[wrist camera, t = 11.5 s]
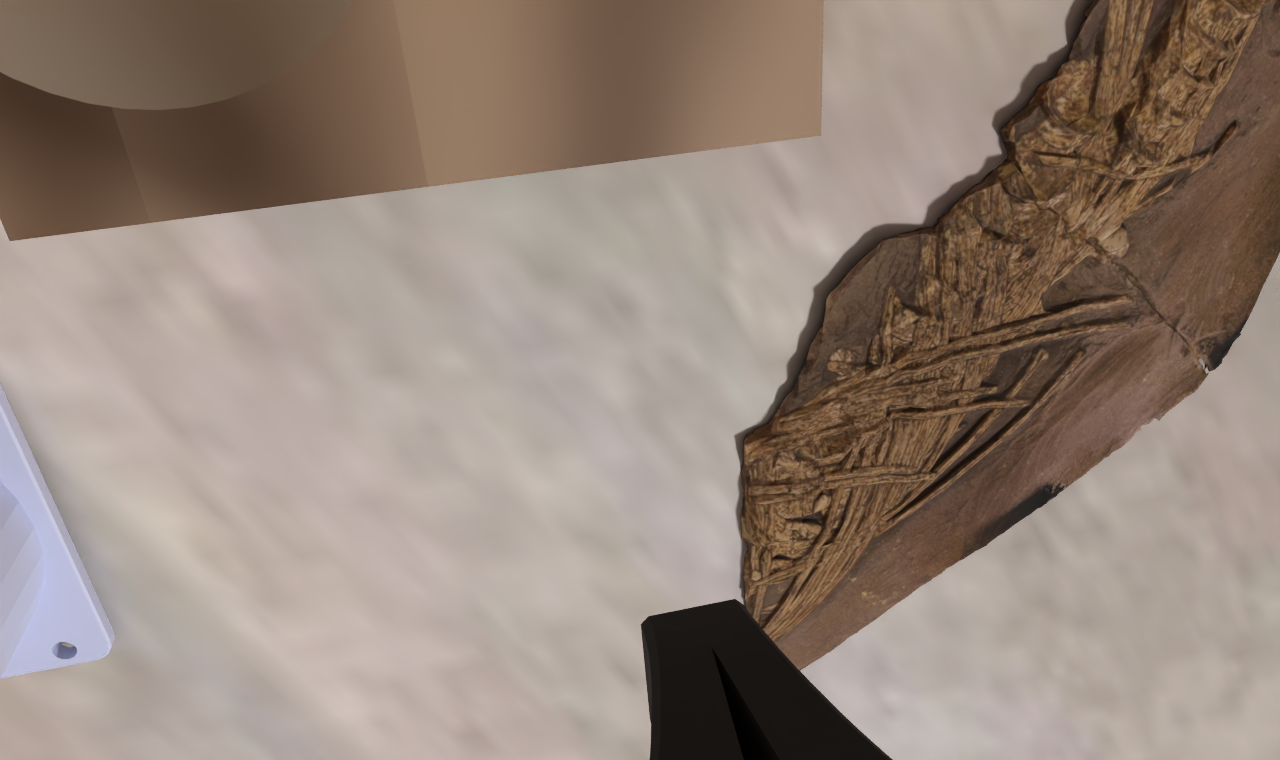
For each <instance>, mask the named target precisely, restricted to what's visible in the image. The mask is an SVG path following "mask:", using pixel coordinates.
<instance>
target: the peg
mask: <svg viewBox="0 0 1280 760" xmlns="http://www.w3.org/2000/svg"><path fill="white" fill-rule="evenodd" d="M351 2H352V0H0V72H1V73H3V74H5V75H7V76H9V77H11V78H13V79H15V80H18V81H20V82H23V83H26V84H28V85H31V86H33V87H36V88H38V89H41V90H43V91H46V92H49V93H51V94H55V95H59V96H63V97H66V98H70V99H74V100H77V101H81V102H85V103H89V104H95V105H102V106H108V107H115V108H121V109H141V110H166V109H177V108H188V107H196V106H200V105H205V104H209V103H213V102H218V101H222V100H226V99H229V98H232V97H234V96H237V95H240V94H242V93H245V92H248V91H250V90H253V89H256V88H257V87H259V86H261V85H263V84H265V83H267V82H268V81H270V80H272V79H274V78H276V77H278V76H279V75H281V74H283V73H284V72H286V71H287V70H288V69H290V68H291V67H292V66H294V65H295V64H296V63H298V62H299V61H300V60H302V59H303V58H304V57H306V56H307V55H308V54H309V53H310V52H311V51H312V50H313V49H314V48H315V47H316V46H317V45H318V44H319V43H320V42H321V41H322V40H323V39H324V38H325V37H326V36H327V35H328V34H329V33H330V32H331V31H332V29H333V28H334V27H335V25H336V24H337V22H338V21H339V20H340V18H341V17H342V16H343V14H344V13H345V11H346V10H347V9H348V7H349V6H350V4H351Z"/></svg>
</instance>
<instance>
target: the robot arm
mask: <svg viewBox="0 0 1280 760" xmlns="http://www.w3.org/2000/svg"><path fill="white" fill-rule="evenodd" d="M641 630H642V640H643V650H644V661H645V671H646V681H647V692H648V702H649V712H650V720H651V751H650V760H892V759H891V758H890V757H889V756H887V755H886V754H885V753H884V752H883V751H882V750H881V749H880V748H879V747H877V746H876V745H875V744H874V743H873V742H872V741H871V740H870V739H868V738H867V737H866V736H865V735H864V734H863V733H862V732H861V731H860V730H859V729H857V728H856V727H855V726H854V725H853V724H852V723H851V722H850V721H849V720H848V719H847V718H846V717H845V716H844V715H843V714H842V713H841V712H840V711H839V710H838V709H837V708H836V707H835V706H834V705H833V704H832V703H831V702H830V701H829V700H828V699H827V698H826V697H825V696H824V695H823V694H822V693H821V692H820V691H819V690H818V689H817V688H816V687H815V686H814V685H813V684H812V683H811V682H810V681H809V680H808V679H807V678H806V677H805V676H804V675H803V674H802V673H801V672H800V671H799V670H798V669H797V667H796V666H795V665H794V664H793V663H792V662H791V661H790V660H789V659H788V658H787V656H786V655H785V654H784V653H783V652H782V651H781V650H780V649H779V648H778V646H777V645H776V644H775V643H774V642H773V641H772V640H771V638H770V637H769V636H768V635H767V634H766V633H765V631H764V630H763V629H762V628H761V627H760V625H759V624H758V623H757V622H756V620H755V619H754V618H753V617H752V616H751V614H750V613H749V612H748V611H747V609H746V608H745V607H744V605H743V604H741V603H740V602H739V601H737V600H736V599H733V600H728V601H723V602H718V603H713V604H708V605H703V606H698V607H693V608H688V609H683V610H678V611H673V612H668V613H663V614H658V615H653V616H649V617H648V618H647V619H646V620H645V621H644V622H643V623H642V624H641ZM114 639H115V636H114V631H113V629H112V627H111V625H110V623H109V620H108V618H107V616H106V614H105V612H104V609H103V607H102V605H101V603H100V601H99V599H98V596H97V594H96V592H95V590H94V588H93V585H92V583H91V581H90V579H89V577H88V575H87V572H86V570H85V568H84V566H83V564H82V561H81V559H80V557H79V555H78V553H77V551H76V548H75V546H74V544H73V542H72V540H71V537H70V535H69V533H68V531H67V529H66V527H65V524H64V522H63V520H62V518H61V516H60V513H59V511H58V509H57V507H56V505H55V502H54V500H53V498H52V496H51V494H50V492H49V489H48V487H47V485H46V483H45V481H44V478H43V476H42V474H41V472H40V470H39V468H38V465H37V463H36V461H35V459H34V457H33V454H32V452H31V450H30V448H29V446H28V444H27V441H26V439H25V437H24V435H23V433H22V430H21V428H20V426H19V424H18V422H17V420H16V417H15V415H14V413H13V411H12V409H11V406H10V404H9V402H8V400H7V398H6V395H5V393H4V391H3V389H2V387H1V385H0V679H1V678H6V677H11V676H16V675H22V674H27V673H32V672H37V671H43V670H48V669H53V668H58V667H64V666H69V665H74V664H79V663H85V662H90V661H95V660H98V659H101V658H103V657H105V656H106V655H107V654H108V653H109V651H110V649H111V647H112V644H113V641H114ZM59 642H68V643H71V644H73V645H74V646H75V647H66V646H63V645H61V644H60V643H59Z"/></svg>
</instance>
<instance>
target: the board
mask: <svg viewBox="0 0 1280 760" xmlns="http://www.w3.org/2000/svg"><path fill="white" fill-rule="evenodd" d="M823 1H824V0H352V2H351V4H350V6H349V7H348V9H347V10H346V11H345V13H344V14H343V16H342V17H341V18H340V20H339V21H338V22H337V24H336V25H335V27H334V28H333V29H332V31H331V32H330V33H329V34H328V35H327V36H326V37H325V38H324V39H323V40H322V41H321V42H320V43H319V44H318V45H317V46H316V47H315V48H314V49H313V50H312V51H311V52H310V53H309V54H308V55H307V56H306V57H304V58H303V59H302V60H300V61H299V62H298V63H296V64H295V65H294V66H292V67H291V68H290V69H288V70H287V71H286V72H284V73H283V74H281V75H279V76H278V77H276V78H274V79H272V80H270V81H268V82H267V83H265V84H263V85H261V86H259V87H257V88H256V89H253V90H250V91H248V92H245V93H242V94H240V95H237V96H234V97H232V98H229V99H226V100H222V101H218V102H213V103H209V104H205V105H200V106H196V107H188V108H177V109H166V110H141V109H121V108H115V107H108V106H102V105H95V104H89V103H85V102H81V101H77V100H74V99H70V98H66V97H63V96H59V95H55V94H51V93H49V92H46V91H43V90H41V89H38V88H36V87H33V86H31V85H28V84H26V83H23V82H20V81H18V80H15V79H13V78H11V77H9V76H7V75H5V74H3V73H1V72H0V219H1V221H2V224H3V226H4V228H5V231H6V233H7V236H8V238H9V240H10V241H14V240H21V239H29V238H37V237H44V236H52V235H60V234H68V233H75V232H83V231H91V230H98V229H106V228H114V227H121V226H129V225H137V224H144V223H152V222H160V221H167V220H175V219H183V218H190V217H198V216H206V215H213V214H221V213H229V212H236V211H244V210H252V209H259V208H267V207H275V206H283V205H290V204H298V203H306V202H313V201H321V200H329V199H336V198H344V197H352V196H359V195H367V194H375V193H382V192H390V191H398V190H405V189H413V188H421V187H428V186H436V185H444V184H451V183H459V182H467V181H474V180H482V179H490V178H498V177H505V176H513V175H521V174H528V173H536V172H544V171H551V170H559V169H567V168H574V167H582V166H590V165H597V164H605V163H613V162H620V161H628V160H636V159H643V158H651V157H659V156H666V155H674V154H682V153H689V152H697V151H705V150H713V149H720V148H728V147H736V146H743V145H751V144H759V143H766V142H774V141H782V140H789V139H797V138H805V137H812V136H820V135H821V107H822V54H823Z"/></svg>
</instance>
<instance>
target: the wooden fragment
mask: <svg viewBox="0 0 1280 760" xmlns="http://www.w3.org/2000/svg"><path fill="white" fill-rule="evenodd" d="M1084 15H1085V16H1087V17H1088V18H1087V19H1086V20H1085V21H1084V22H1083V23H1082V24H1081V27H1080V31H1079V34H1078V37H1077V39H1076V40H1075V42H1074V44H1073V48H1072V50H1071V53H1070V56H1069V58H1068V60H1067V61H1065V62H1064V63H1063V64H1062V65H1061V67H1060V69H1059V71H1058V73H1057V75H1056V76H1054V77H1052V78H1050V79H1048V80H1047V81H1045V82H1043V83H1041V84H1040V85H1039V87H1038V89H1037V91H1036V93H1035V95H1034V96H1033V97H1032V99H1031V100H1030V102H1029V103H1028V104H1027V105H1026V107H1025V108H1023V109H1022V110H1021V111H1019V112H1018V113H1017V114H1016V115H1015V116H1014V117H1013V118H1012V119H1011V120H1010V121H1009V122H1008V123H1006V124H1005V126H1004V127H1003V128H1002V129H1001V130H1000V133H1001V136H1002V138H1003V141H1004V144H1005V147H1006V149H1007V152H1008V158H1007V159H1006V160H1005V161H1004V162H1003V163H1002V165H1000V166H999V167H997V168H996V169H995V170H993V171H992V172H990V173H989V174H988V175H987V176H986V178H985V179H984V180H983V181H982V183H981V184H977V185H975V186H974V187H973V188H971V189H970V190H969V191H967V192H966V193H965V194H964V195H963V196H962V197H961V198H960V199H959V200H958V201H957V202H956V203H955V205H954V206H953V207H952V209H951V210H950V211H949V213H947V214H946V215H945V216H943V217H941V218H939V219H938V223H937V225H936V226H935V227H934V228H919V229H917V230H914V231H912V232H906V233H901V234H900V235H899V236H898V237H893V238H889V239H886V240H883V241H881V242H880V244H879V245H878V246H877V247H876V248H874V249H873V250H872V251H870V252H869V253H868V254H867V255H866V256H865V257H864V258H863V259H861V260H860V261H859V262H858V263H857V264H856V265H855V266H854V267H853V268H852V269H851V270H850V272H849V273H848V274H847V275H846V277H845V278H844V279H843V280H842V282H841V283H840V284H839V285H838V286H837V287H836V288H835V289H834V290H833V291H832V292H830V294H829V295H828V297H827V299H826V302H825V307H826V311H825V316H824V321H823V325H822V326H821V327H820V328H819V331H818V333H817V335H816V336H815V338H814V340H813V342H812V343H811V345H810V347H809V351H808V355H807V360H806V362H805V364H804V366H803V369H802V371H801V372H800V374H799V377H798V379H797V381H796V383H795V386H794V389H793V391H791V392H790V393H789V394H788V395H787V396H786V398H785V399H784V400H783V402H782V403H781V405H780V407H779V408H778V411H777V413H776V414H775V415H774V416H773V417H772V419H771V420H770V423H769V424H767V425H764V426H762V427H760V428H757V429H755V430H754V431H752V432H751V433H749V434H748V435H747V436H746V437H745V439H744V445H743V456H744V459H743V464H742V467H741V479H742V485H743V489H744V497H743V507H742V510H741V515H740V521H741V525H742V535H741V539H743V540H744V541H745V542H746V543H747V546H748V550H747V553H746V555H745V559H744V573H743V579H744V582H745V585H744V589H745V601H746V609H747V611H748V612H749V613H750V614H751V616H752V617H753V618H754V619H755V620H756V622H757V623H758V624H759V625H760V627H761V628H762V629H763V630H764V631H765V633H766V634H767V635H768V636H769V637H770V638H771V640H772V641H773V642H774V643H775V644H776V645H777V646H778V648H779V649H780V650H781V651H782V652H783V653H784V654H785V655H786V656H787V658H788V659H789V660H790V661H791V662H792V663H793V664H794V665H795V666H796V667H797V669H798V670H799V671H800V670H802V669H803V668H805V667H806V666H808V665H809V664H811V663H812V662H814V661H815V660H817V659H819V658H821V657H822V656H824V655H825V654H826V653H828V652H830V651H831V650H833V649H834V648H835V647H837V646H838V645H840V644H841V643H842V642H844V641H845V640H846V639H847V638H848V637H849V636H851V635H853V634H855V633H857V632H858V631H859V630H861V629H862V628H863V627H865V626H866V625H868V624H869V623H871V622H872V621H874V620H875V619H877V618H878V617H879V616H881V615H882V614H883V613H885V612H886V611H887V610H888V609H890V608H891V607H892V606H894V605H895V604H897V603H898V602H900V601H901V600H903V599H904V598H906V597H907V596H909V595H910V594H911V593H912V592H914V591H915V590H916V589H917V588H919V587H920V586H922V585H924V584H926V583H927V582H929V581H930V580H931V579H932V578H934V577H936V576H938V575H939V574H940V573H942V572H943V571H944V570H945V569H946V568H948V567H950V566H952V565H954V564H955V563H956V562H958V561H960V560H962V559H964V558H965V557H967V556H968V555H970V554H972V553H973V552H975V551H976V550H978V549H980V548H982V547H984V546H986V545H987V544H988V543H989V542H990V541H992V540H993V539H995V538H996V537H997V536H999V535H1000V534H1002V533H1004V532H1005V531H1006V530H1008V529H1009V528H1010V527H1011V526H1013V525H1014V524H1016V523H1017V522H1019V521H1020V520H1022V519H1023V518H1025V517H1026V516H1028V515H1029V514H1031V513H1032V512H1033V511H1035V510H1036V509H1037V508H1040V507H1042V506H1043V505H1044V504H1046V503H1047V502H1048V501H1050V500H1051V499H1053V498H1054V497H1056V496H1057V494H1058V493H1060V492H1061V491H1063V490H1064V489H1065V488H1067V487H1068V486H1069V485H1071V484H1072V483H1073V482H1074V481H1076V480H1077V479H1079V478H1080V477H1082V476H1083V475H1084V474H1086V473H1087V472H1088V471H1089V470H1090V469H1091V468H1093V467H1094V466H1095V465H1097V464H1098V463H1099V462H1100V461H1102V460H1103V459H1104V458H1105V457H1108V456H1109V455H1110V454H1111V453H1112V452H1113V451H1115V450H1117V449H1119V448H1121V447H1122V446H1123V445H1125V444H1126V443H1127V442H1128V441H1129V440H1130V439H1131V438H1132V437H1133V435H1134V434H1135V432H1137V431H1139V430H1140V429H1141V426H1142V425H1146V424H1149V423H1150V422H1151V421H1152V420H1153V419H1154V418H1156V419H1158V420H1160V419H1161V418H1162V417H1163V416H1164V415H1165V413H1166V412H1168V411H1169V410H1171V409H1172V408H1173V407H1174V406H1176V405H1177V404H1178V403H1179V402H1181V401H1182V400H1183V399H1184V398H1186V397H1187V396H1189V395H1191V394H1192V393H1194V392H1195V391H1196V390H1197V389H1198V388H1199V386H1200V385H1201V384H1202V382H1203V381H1204V379H1205V378H1206V377H1207V375H1208V373H1209V372H1208V373H1207V374H1206V373H1205V370H1203V366H1202V365H1201V364H1200V363H1199V359H1198V357H1199V358H1202V359H1203V361H1204V363H1205V368H1206V367H1207V366H1208V370H1209V371H1212V370H1214V369H1216V368H1217V367H1218V366H1219V365H1220V364H1221V363H1222V359H1223V358H1224V357H1225V356H1226V355H1227V353H1228V351H1229V349H1230V347H1231V345H1232V344H1233V342H1234V341H1235V340H1236V339H1237V338H1238V337H1239V336H1240V335H1241V334H1240V332H1241V330H1242V328H1243V327H1244V325H1245V323H1246V321H1247V320H1248V318H1249V316H1250V313H1251V311H1252V309H1253V307H1254V305H1255V303H1256V301H1257V299H1258V296H1259V294H1260V291H1261V289H1262V287H1263V285H1264V283H1265V281H1266V279H1267V277H1268V275H1269V273H1270V271H1271V269H1272V267H1273V265H1274V263H1275V261H1276V259H1277V257H1278V254H1279V252H1280V0H1094V1H1093V3H1092V4H1091V6H1090V7H1089V9H1088V10H1087V11H1086V12H1085V14H1084Z"/></svg>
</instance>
